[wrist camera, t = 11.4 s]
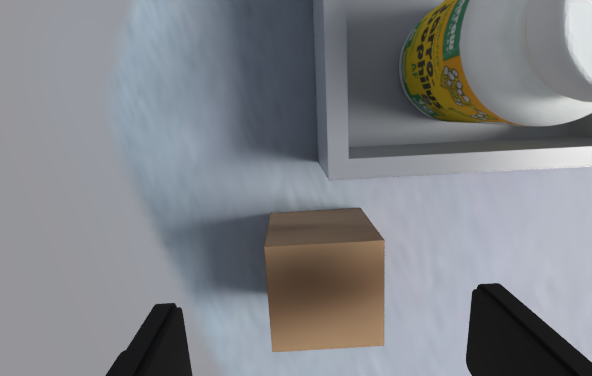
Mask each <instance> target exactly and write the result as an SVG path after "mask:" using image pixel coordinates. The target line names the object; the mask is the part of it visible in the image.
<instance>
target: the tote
mask: <svg viewBox="0 0 592 376" xmlns="http://www.w3.org/2000/svg"><path fill="white" fill-rule="evenodd" d="M312 1H313V29H314V57H315V85H316V112H317V140H318V163H319V164H320V166H321V168H322V170H323V171H324V173H325V175H326V176H327V178H328V180H343V179H362V178H381V177H400V176H419V175H438V174H457V173H476V172H495V171H514V170H533V169H552V168H571V167H590V166H592V113H591V114H589V115H587V116H585V117H582V118H580V119H577V120H574V121H571V122H567V123H563V124H558V125H552V126H517V125H498V124H484V123H460V122H445V121H439V120H435V119H432V118H430V117H428V116H426V115H425V114H423V113H422V112H421V111H419V110H418V109H417V108H416V107H415V106H414V105H413V104H412V103H411V101H410V100H409V99H408V98H407V96H406V95H405V93H404V90H403V88H402V85H401V81H400V76H399V61H400V54H401V50H402V47H403V45H404V43H405V41H406V39H407V37H408V35H409V34H410V32H411V31H412V29H413V28H414V27H415V26H416V24H417V23H418V22H419V21H420V20H421V19H422V18H423V17H424V16H426V15H427V14H428V13H429V12H430V11H432V10H433V9H434V8H436V7H437V6H438V5H440V4H441V3H442V2H443V1H445V0H312Z"/></svg>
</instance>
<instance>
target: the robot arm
mask: <svg viewBox="0 0 592 376" xmlns="http://www.w3.org/2000/svg"><path fill="white" fill-rule="evenodd" d="M466 363H467V367H468V370H469V372H470V373H471V375H472V376H592V362H591V361H589V360H588V359H587V358H586V357H585V356H584V355H582V354H581V353H580V352H579V351H578V350H577V349H575V348H574V347H573V346H572V345H571V344H570V343H568V342H567V341H566V340H565V339H564V338H563V337H561V336H560V335H559V334H558V333H557V332H556V331H554V330H553V329H552V328H551V327H550V326H549V325H547V324H546V323H545V322H544V321H543V320H542V319H540V318H539V317H538V316H537V315H536V314H535V313H533V312H532V311H531V310H530V309H529V308H528V307H526V306H525V305H524V304H523V303H522V302H521V301H519V300H518V299H517V298H516V297H515V296H514V295H512V294H511V293H510V292H509V291H508V290H507V289H505V288H504V287H503V286H502V285H500V284H498V283H493V284H480V285H478V287H477V289H475V290H473V292H472V300H471V311H470V321H469V332H468V343H467V353H466ZM106 376H192V371H191V364H190V358H189V351H188V344H187V338H186V332H185V325H184V318H183V312H182V309H181V308H180V307H179V308H177V307H176V305H175V303H167V304H156V305H155V306H154V307H153V309H152V310H151V312H150V313H149V315H148V316H147V318H146V320H145V321H144V323H143V324H142V326H141V328H140V329H139V331H138V332H137V334H136V335H135V337H134V339H133V340H132V342H131V343H130V345H129V346H128V348H127V350H125V351H123V352H122V353H121V354H120V355H119V356H118V357H117V359H116V361H115V362H114V364H113V365H112V367H111V368H110V370H109V371H108V373H107V374H106Z"/></svg>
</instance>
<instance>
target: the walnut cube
mask: <svg viewBox="0 0 592 376" xmlns="http://www.w3.org/2000/svg"><path fill="white" fill-rule="evenodd" d="M264 252H265V264H266V277H267V290H268V302H269V315H270V328H271V340H272V352H284V351H301V350H318V349H335V348H352V347H369V346H384V239H383V238H382V236H381V235H380V234H379V232H378V231H377V230H376V228H375V227H374V226H373V224H372V223H371V221H370V220H369V219H368V217H367V216H366V215H365V213H364V212H363V211H362V209H361V208H351V209H333V210H316V211H298V212H280V213H271V215H270V220H269V225H268V230H267V235H266V240H265V245H264Z"/></svg>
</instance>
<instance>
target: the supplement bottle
mask: <svg viewBox="0 0 592 376" xmlns="http://www.w3.org/2000/svg"><path fill="white" fill-rule="evenodd" d="M399 76H400V81H401V85H402V88H403V90H404V93H405V95H406V96H407V98H408V99H409V100H410V101H411V103H412V104H413V105H414V106H415V107H416V108H417V109H418V110H419V111H421V112H422V113H423V114H425V115H426V116H428V117H430V118H432V119H435V120H439V121H445V122H460V123H484V124H498V125H517V126H552V125H558V124H563V123H567V122H571V121H574V120H577V119H580V118H582V117H585V116H587V115H589V114H591V113H592V0H445V1H443V2H442V3H441V4H440V5H438V6H437V7H436V8H434V9H433V10H432V11H430V12H429V13H428V14H427V15H426V16H424V17H423V18H422V19H421V20H420V21H419V22H418V23H417V24H416V26H415V27H414V28H413V29H412V31H411V32H410V34H409V35H408V37H407V39H406V41H405V43H404V45H403V47H402V50H401V54H400V61H399Z"/></svg>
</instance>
